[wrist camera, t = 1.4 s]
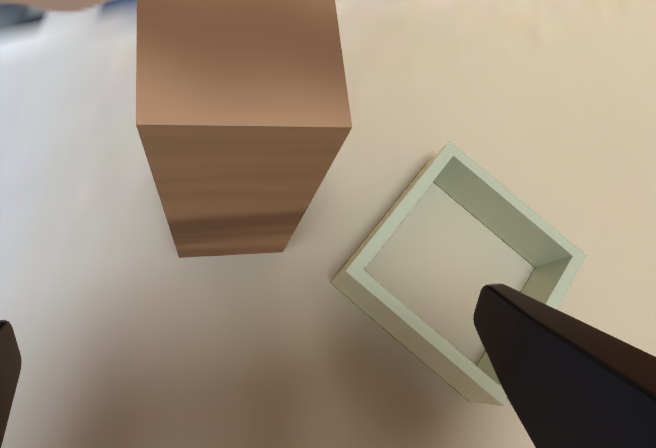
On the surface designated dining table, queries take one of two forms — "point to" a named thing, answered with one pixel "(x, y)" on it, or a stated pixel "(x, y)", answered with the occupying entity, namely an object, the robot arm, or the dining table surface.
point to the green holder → (502, 219)
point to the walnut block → (239, 116)
